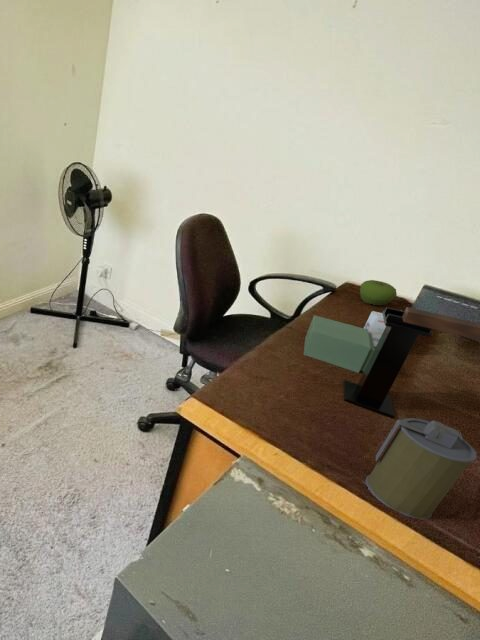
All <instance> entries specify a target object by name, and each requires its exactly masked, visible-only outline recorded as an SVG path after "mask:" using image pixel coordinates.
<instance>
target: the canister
mask: <svg viewBox="0 0 480 640" xmlns="http://www.w3.org/2000/svg"><path fill="white" fill-rule="evenodd" d="M396 430H397V431H396ZM395 432H396V433H395ZM394 434H395V435H394ZM383 451H384V452H383ZM380 456H381V457H380ZM374 457H375V462H376V464H375V467H374V468H373V469H372V471H371V473H370V474H368V475H367V476H366V478H365V479H366V480H365V486H366V485H367V486H366V488H367V487H368V488H367V489H368V491H369V492H370V493H371V495H373V497H375V499H377V500H378V501H379V502H380V503H382V504H383V505H384V506H386V507H387V508H390V509H391V510H393V511H395V512H397V513H399V514H401V515H404V516H406V517H410V518H413V519H418V520H419V519H420V520H426V519H429V518H431V517H432V516H433V512H434V511H435V510H436V509H437V507H438V506H439V504H440V503H441V502H442V500H443V499H445V497H446V495H447V494H448V493H449V491H450V490H451V489H452V488H453V486H454V485H455V484H456V482H457V481H458V480H459V479H460V477H461V475H463V473H464V472H465V470H466V469H467V467H468V466H469V465H470V464H471V463H472V462H475V461H476V460H477V457H478V454H477V452H476V449H475V448H474V447H473V446H472V445H471V444H470V442H468V441H467V440H465V439H464V438H463V434H462V432H461V431H460V430H458V429H455V428H453V427H450V426H448V425H445V424H443V423H442V422H439V421H437V420H434V419H433V420H430V421H429V420H425V419H421V418H414V417H408V418H404V419H397V420H396V422H395V424H394V425H393V427H392V428H391V430H390V432H389V434H388V435H387V437H386V438H385V440H384V441H383V443H382V445H381V446H380V448H379V450H378V451H377V453H376V455H375V456H374ZM377 461H378V462H377Z"/></svg>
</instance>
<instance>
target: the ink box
mask: <svg viewBox="0 0 480 640" xmlns="http://www.w3.org/2000/svg"><path fill="white" fill-rule="evenodd" d="M368 316H369V317H368V319H367V321H366V322H365V324H364V326H363V328H364V329H367V330H368V333H369V334H372V337H373V343H374V346H377V344H378V342H379V340H380V338H381V336H382V334H383V332H384V330H385V327H386V326H385V323H384V318H383V314H382V312H378V311H374V310H372V311H371V312H370V314H369V315H368Z"/></svg>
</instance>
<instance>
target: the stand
mask: <svg viewBox="0 0 480 640" xmlns="http://www.w3.org/2000/svg"><path fill="white" fill-rule="evenodd" d="M404 312H405V310H402V311H401V309H397V308H392V307H388V306H386V308H385V309H383V311H382V312H381V313H382V314H383V318H384V323H385V326H386V327H385V330H384V332H383V334H382V336H381V338H380V340H379V342H378V344H377V346H376V348H375V350H374V352H373V354H372V356H371V358H370V360H369V363H368V365H367V367H366V369H365V371H364V372H363V373H362V375H361V377H360V379H359V381H358V383H355V382H352V381H349V380H345V379H344V380H343V383H342V385H343V401H344V402H347V403H348V404H352V405H354V406H357V407H359V408H362V409H365V410H368V411H370V412H373V413H375V414H379V415H381V416H384V417H386V418H389V419H392V420H394V419H395V417H396V415H395V409H394V405H393V399H392V396H391V394H389V392H390V391H391V389H392V386H393V385H394V383H395V381H396V379H397V377H398V375H399V373H400V371H401V369H402V367H403V366H404V364H405V362H406V360H407V358H408V356H409V354H410V352H411V351H412V349H413V347H414V345H415V343H416V341H417V339H418V337H419V336H425V337H427V338H431V336H432V329H431V328H426V327H422V326H418V325H414V324H410V323H406V322H403V319H402V316H403V314H404Z"/></svg>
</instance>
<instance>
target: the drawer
mask: <svg viewBox="0 0 480 640" xmlns="http://www.w3.org/2000/svg"><path fill="white" fill-rule="evenodd" d="M369 340H370V346H371V348H370V351H369V353H368V355H367V357H366V359H365V361H364V363H363V365H362V367H361V369H360V371H359V372H363V373H364V371H365V369H366V367H367V365H368V363H369V360H370V358H371V356H372V354H373V352H374V350H375V348H376V346H374V343H373V337H372V334H369Z"/></svg>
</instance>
